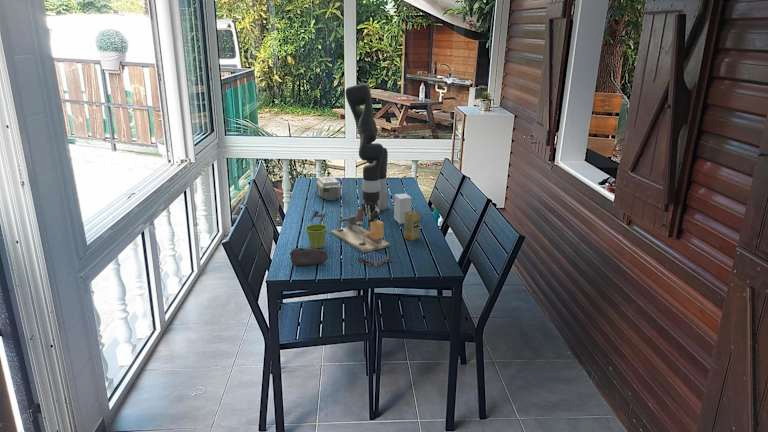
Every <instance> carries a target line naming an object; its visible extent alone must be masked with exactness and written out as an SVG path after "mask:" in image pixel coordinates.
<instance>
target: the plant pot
mask: <svg viewBox="0 0 768 432" xmlns="http://www.w3.org/2000/svg"><path fill="white" fill-rule="evenodd" d="M327 230H328V225H326V224H322V223H321V224H319V223H316V224H315V223H314V224H309V225H308V226H306V227H305V231H306V234H307V236H308V242H309V243H308V244H309V248H313V249H322V248H324V247H325V243H326V241H325V240H326V233H327Z"/></svg>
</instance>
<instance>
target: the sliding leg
mask: <svg viewBox="0 0 768 432" xmlns="http://www.w3.org/2000/svg"><path fill="white" fill-rule="evenodd" d="M384 225H385V224H384V222H383V221H381V220H379V219H378V220H377V219H376V220H374V221H372V222H370V227H369V232H368V233H363V243H365V236H368V235H370V237H371V238H373V239H375V240H376V239H380V238H381V239H383V238H384V231H385V230H384V228H385V227H384Z"/></svg>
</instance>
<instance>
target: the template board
mask: <svg viewBox="0 0 768 432" xmlns="http://www.w3.org/2000/svg"><path fill="white" fill-rule="evenodd" d="M356 219H357V215H355V214H352V215H351V214H350V215H347V217H345V218H340V219H339V218H338V228H337V229H332V230H331V234H333V235H334V236H335V237H337V238H339V239H340V240H342V241H343V242H345V243H346V244H348V245H350V246H351V247H352V248H354V249H356V250H358V251H359V252H361V253H362V254H364V253H370V252H374V251H377V250H380V249H384V248H385V249H386V248H389V247H390V246H391V243H390V242H388V241H386V240H384V239H383V238H380V239H376V240H375V239H373V238H371V237H370V235H368V236H365V243H363V233H368V232H370V230H366V229H365V228H363V226H358V225H356ZM342 222H347V225H348V226H346V227H342Z"/></svg>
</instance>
